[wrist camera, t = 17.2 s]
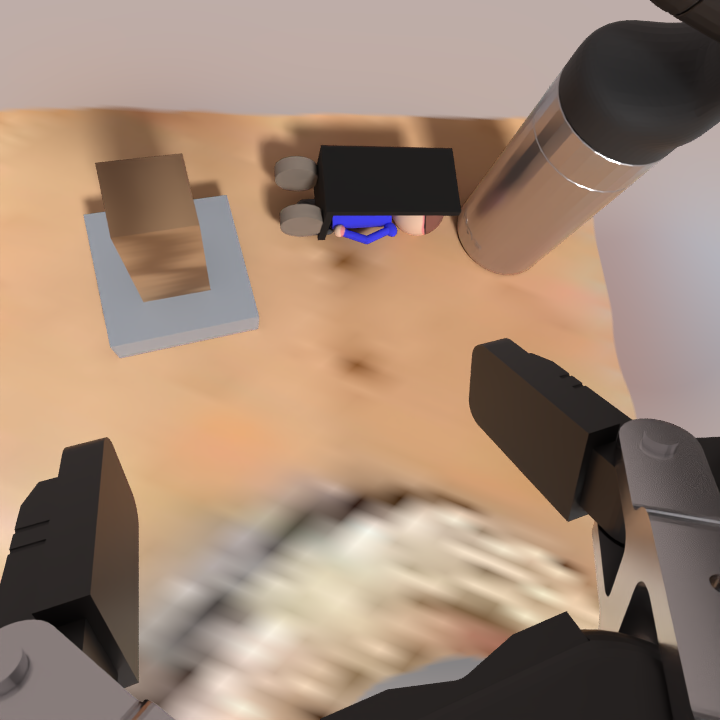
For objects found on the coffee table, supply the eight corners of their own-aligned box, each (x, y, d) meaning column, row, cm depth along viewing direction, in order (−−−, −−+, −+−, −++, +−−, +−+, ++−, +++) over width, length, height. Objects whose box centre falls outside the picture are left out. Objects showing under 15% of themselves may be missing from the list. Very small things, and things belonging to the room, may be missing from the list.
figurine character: (282, 262, 47) (442, 251, 49) (277, 218, 39) (466, 208, 41) (277, 196, 49) (432, 189, 50) (271, 143, 41) (453, 136, 43)
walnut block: (196, 233, 41) (182, 153, 32) (210, 290, 40) (199, 224, 31) (131, 243, 40) (95, 162, 30) (143, 302, 39) (110, 238, 29)
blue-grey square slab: (227, 214, 45) (226, 194, 42) (258, 328, 43) (258, 316, 40) (94, 233, 42) (83, 214, 39) (119, 358, 40) (110, 347, 37)
